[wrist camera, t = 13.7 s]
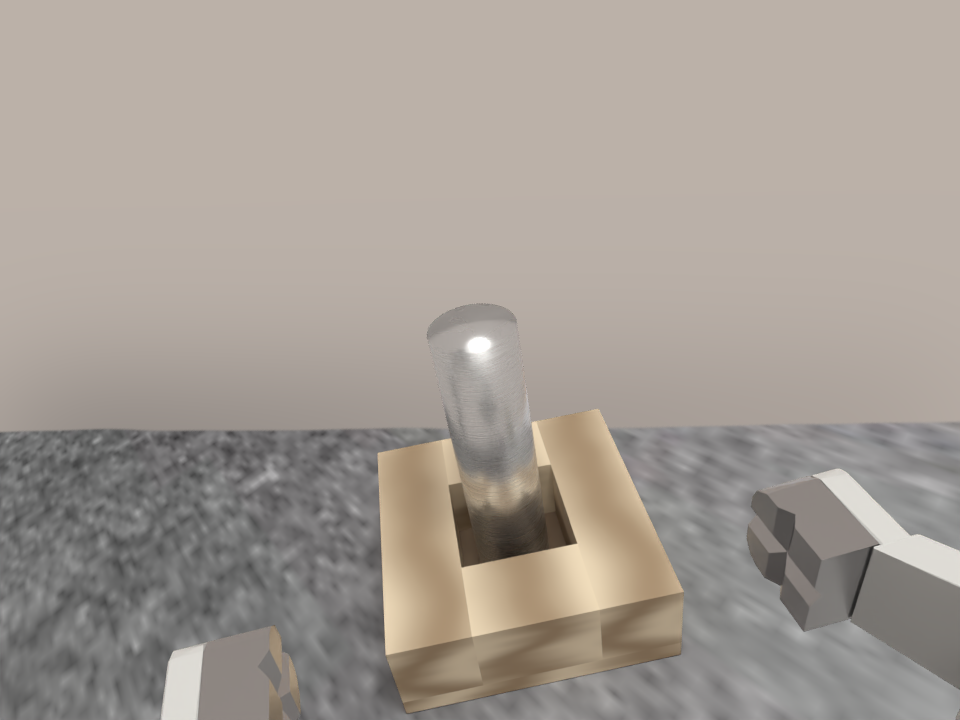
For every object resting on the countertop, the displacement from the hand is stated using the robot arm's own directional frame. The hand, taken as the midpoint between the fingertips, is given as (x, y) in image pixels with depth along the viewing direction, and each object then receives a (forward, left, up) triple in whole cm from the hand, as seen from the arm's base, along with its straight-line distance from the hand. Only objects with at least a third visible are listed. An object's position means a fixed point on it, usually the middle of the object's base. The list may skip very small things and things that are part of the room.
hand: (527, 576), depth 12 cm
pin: (+1, +19, -23) cm, 30 cm away
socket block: (+1, +19, -24) cm, 31 cm away
